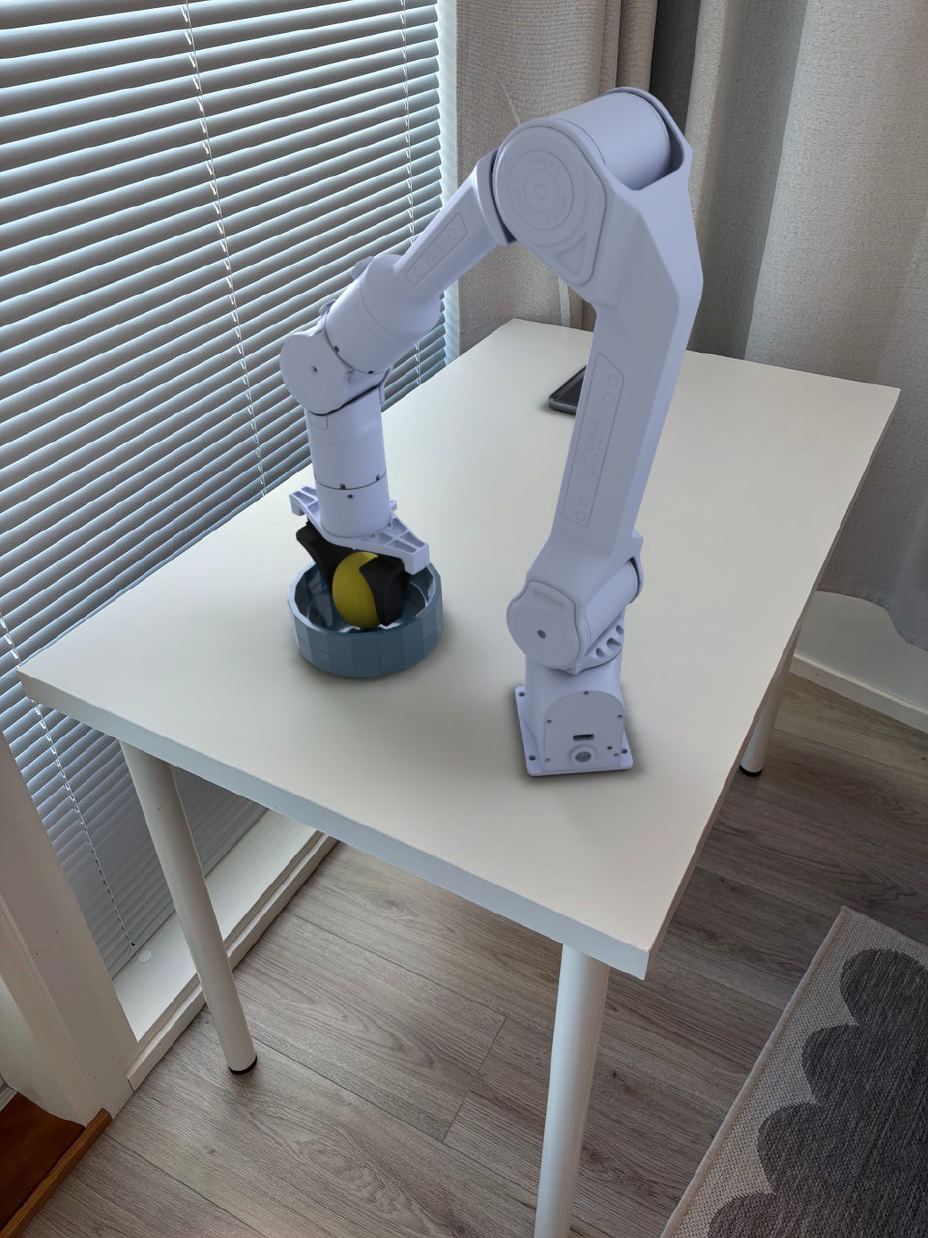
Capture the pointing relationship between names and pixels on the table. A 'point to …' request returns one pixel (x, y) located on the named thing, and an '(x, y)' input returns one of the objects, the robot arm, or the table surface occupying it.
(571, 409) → the phone
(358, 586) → the lemon
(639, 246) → the robot arm
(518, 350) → the table surface
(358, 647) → the bowl
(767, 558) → the table surface
